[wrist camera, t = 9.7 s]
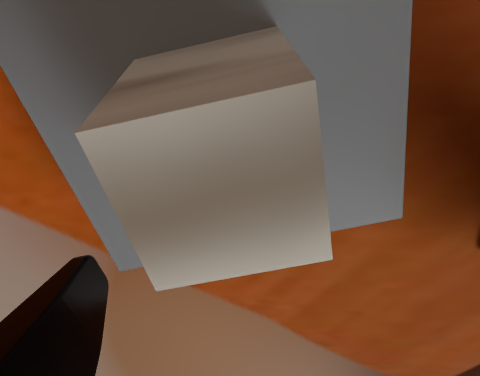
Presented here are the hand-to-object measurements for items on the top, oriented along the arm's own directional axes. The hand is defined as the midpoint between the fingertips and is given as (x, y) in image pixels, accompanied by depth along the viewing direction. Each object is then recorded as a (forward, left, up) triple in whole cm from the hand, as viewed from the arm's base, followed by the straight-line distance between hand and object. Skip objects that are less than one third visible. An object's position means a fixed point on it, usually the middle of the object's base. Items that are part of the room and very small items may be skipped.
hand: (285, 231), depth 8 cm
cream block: (+1, +1, -7) cm, 7 cm away
